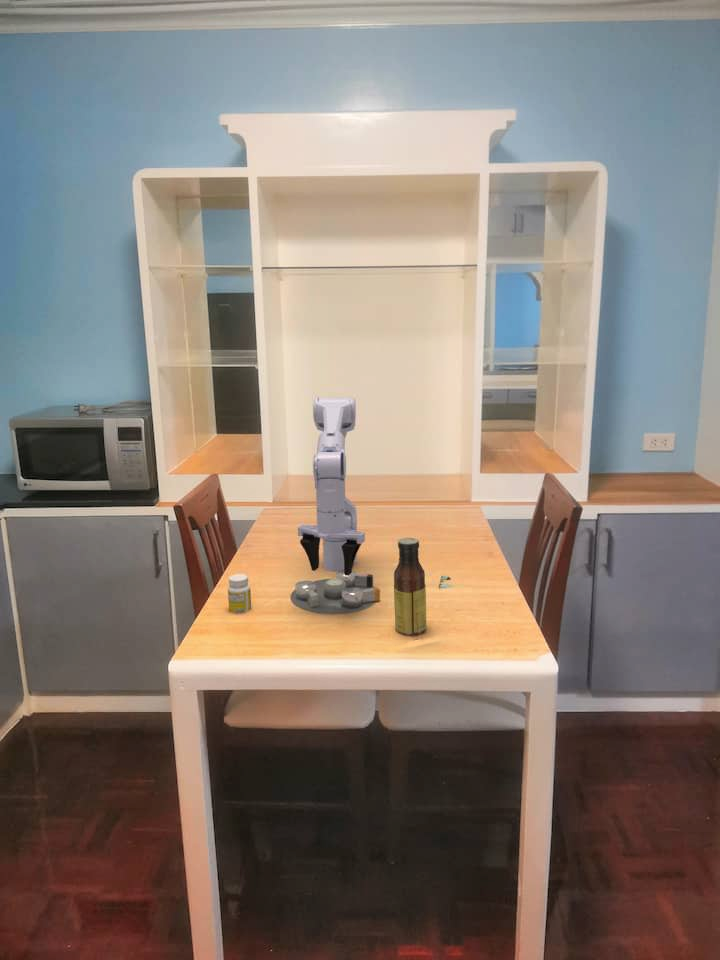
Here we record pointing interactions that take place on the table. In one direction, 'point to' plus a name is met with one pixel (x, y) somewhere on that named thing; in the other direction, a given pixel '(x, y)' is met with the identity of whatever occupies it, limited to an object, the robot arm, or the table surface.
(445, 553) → the table surface
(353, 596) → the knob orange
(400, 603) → the sauce bottle
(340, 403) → the robot arm
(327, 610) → the tribrach plate
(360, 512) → the table surface
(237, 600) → the supplement bottle
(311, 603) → the silver metal rounded piece
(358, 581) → the knob black
